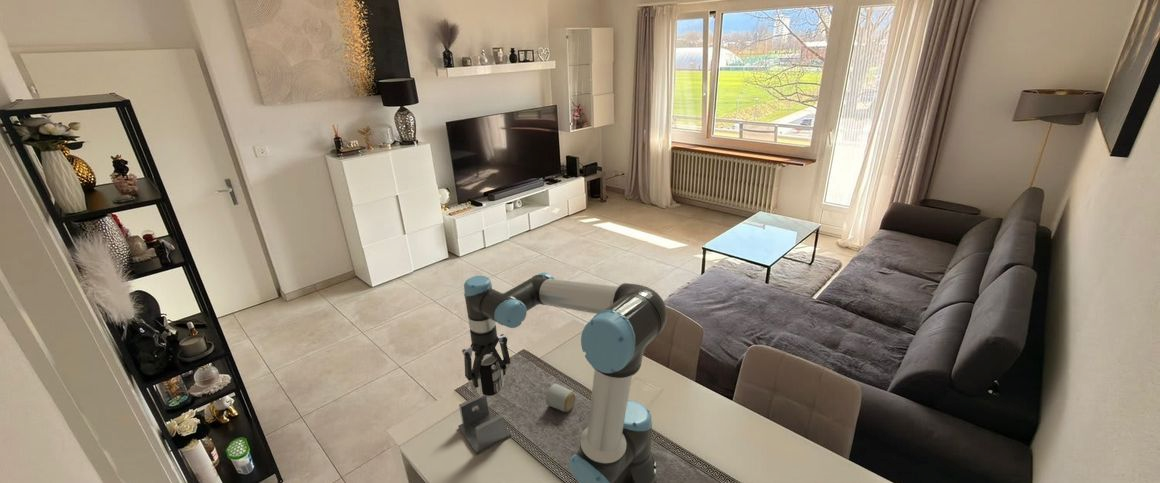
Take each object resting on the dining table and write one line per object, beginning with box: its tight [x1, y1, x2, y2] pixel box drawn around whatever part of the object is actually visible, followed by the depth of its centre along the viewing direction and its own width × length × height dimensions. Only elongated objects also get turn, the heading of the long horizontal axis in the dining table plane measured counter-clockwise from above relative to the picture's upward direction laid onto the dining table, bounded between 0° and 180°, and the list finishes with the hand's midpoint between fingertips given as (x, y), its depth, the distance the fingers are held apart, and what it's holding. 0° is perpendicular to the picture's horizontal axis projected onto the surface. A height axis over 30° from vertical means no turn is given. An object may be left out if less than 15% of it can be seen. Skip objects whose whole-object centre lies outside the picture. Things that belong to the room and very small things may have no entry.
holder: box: [457, 394, 512, 456], centre depth 154 cm, size 14×12×9 cm
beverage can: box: [479, 353, 502, 397], centre depth 146 cm, size 7×7×12 cm
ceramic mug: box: [545, 383, 577, 413], centre depth 165 cm, size 11×8×8 cm
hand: (490, 388), depth 148 cm, fingers closed on beverage can, 7 cm apart
